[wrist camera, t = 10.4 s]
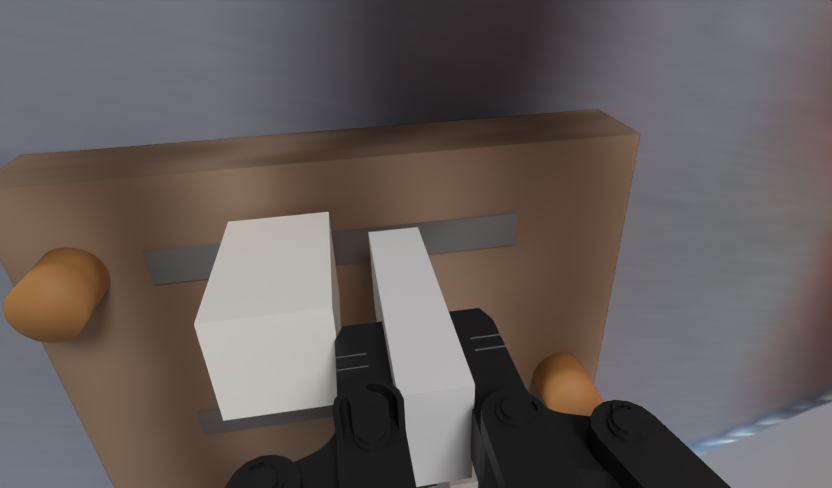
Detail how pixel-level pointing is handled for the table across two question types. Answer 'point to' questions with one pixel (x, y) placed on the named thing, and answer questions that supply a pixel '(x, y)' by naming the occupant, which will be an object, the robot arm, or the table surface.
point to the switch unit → (350, 223)
